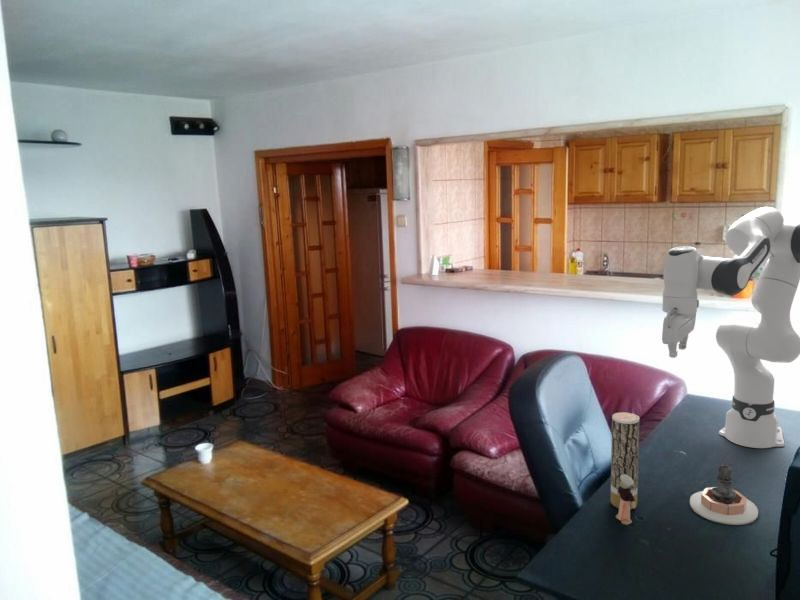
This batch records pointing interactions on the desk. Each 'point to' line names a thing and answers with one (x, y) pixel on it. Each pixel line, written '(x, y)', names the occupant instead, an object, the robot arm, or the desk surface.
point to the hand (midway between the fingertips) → (677, 352)
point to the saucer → (724, 508)
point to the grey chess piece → (724, 486)
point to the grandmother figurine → (625, 499)
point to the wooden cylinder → (624, 453)
